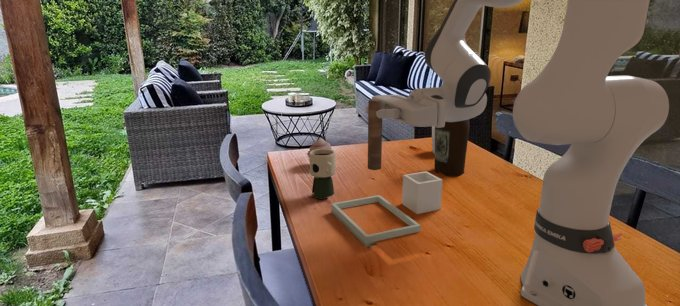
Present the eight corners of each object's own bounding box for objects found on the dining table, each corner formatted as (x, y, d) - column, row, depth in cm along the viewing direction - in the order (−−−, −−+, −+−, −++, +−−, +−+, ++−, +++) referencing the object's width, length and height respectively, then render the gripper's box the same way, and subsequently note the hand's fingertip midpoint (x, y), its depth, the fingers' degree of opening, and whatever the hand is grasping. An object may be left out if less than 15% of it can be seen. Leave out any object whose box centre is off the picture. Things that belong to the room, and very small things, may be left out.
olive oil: (451, 164, 154) (456, 91, 146) (473, 173, 145) (479, 96, 137) (425, 169, 149) (429, 93, 142) (446, 178, 140) (452, 99, 133)
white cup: (452, 156, 162) (454, 129, 159) (430, 155, 164) (431, 128, 161) (452, 150, 170) (453, 124, 167) (430, 149, 171) (432, 123, 168)
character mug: (304, 192, 131) (302, 148, 127) (326, 187, 134) (325, 145, 130) (319, 205, 121) (318, 159, 117) (343, 200, 124) (342, 155, 120)
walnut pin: (383, 168, 106) (385, 101, 101) (371, 170, 105) (372, 102, 100) (377, 164, 109) (378, 98, 104) (365, 166, 107) (365, 100, 103)
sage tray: (420, 235, 105) (420, 225, 104) (366, 247, 99) (366, 237, 99) (379, 203, 122) (379, 195, 122) (331, 212, 117) (331, 203, 116)
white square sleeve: (440, 212, 116) (442, 179, 114) (416, 217, 114) (418, 184, 111) (424, 202, 123) (426, 171, 120) (401, 206, 120) (403, 175, 117)
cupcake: (323, 160, 159) (323, 132, 156) (340, 166, 152) (340, 138, 149) (301, 165, 153) (300, 137, 151) (317, 172, 146) (317, 143, 144)
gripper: (401, 87, 116) (352, 91, 111) (450, 100, 98) (394, 106, 93) (400, 111, 118) (352, 116, 112) (448, 129, 100) (393, 135, 94)
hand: (371, 111), depth 102 cm, fingers closed on walnut pin, 3 cm apart
